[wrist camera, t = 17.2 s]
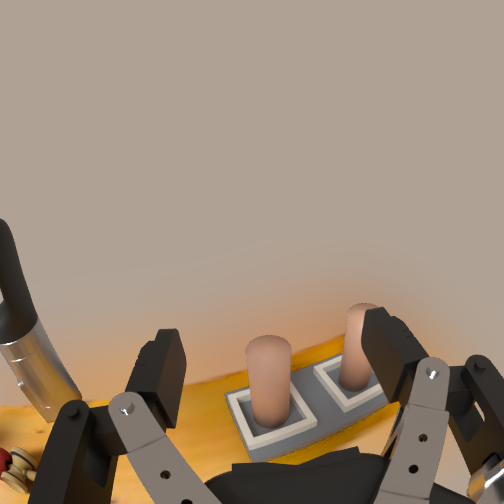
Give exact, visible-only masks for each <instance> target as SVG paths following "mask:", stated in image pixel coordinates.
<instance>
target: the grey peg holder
mask: <svg viewBox="0 0 504 504" xmlns="http://www.w3.org/2000/svg"><path fill="white" fill-rule="evenodd" d="M372 308H378V306H376V305H373V304H367V303H361V304H356V305H354V306H352V307H351V308H350V309H349V310H348V315H347V324H346V331H345V339H344V346H343V352H342V353H340V354H338V355H335V356H333V357H331V358H328V359H326V360H323V361H321V362H318V363H316V364H313V365H310V366H308V367H305V368H302V369H300V370H297V371H294V372H291V375H290V399H289V417H288V419H287V421H286V422H285V423H284V424H283V425H282V426H280V427H277V428H273V429H267V428H263V427H261V426H259V425H258V424H256V423H255V421H254V419H253V413H252V404H251V395H250V386H249V387H245V388H242V389H238V390H235V391H231V392H228V393H224V395H225V399H226V402H227V404H228V407H229V409H230V412H231V414H232V417H233V419H234V422H235V424H236V427H237V429H238V432H239V434H240V436H241V439H242V441H243V443H244V446H245V448H246V450H247V453H248V455H249V457H250V459H251V462H252V463H256V462H266V461H269V460H272V459H275V458H278V457H281V456H283V455H286V454H289V453H291V452H294V451H296V450H299V449H301V448H304V447H306V446H309V445H311V444H313V443H316V442H318V441H320V440H322V439H324V438H327V437H329V436H331V435H333V434H335V433H337V432H339V431H341V430H343V429H345V428H347V427H349V426H351V425H353V424H355V423H357V422H359V421H360V420H362V419H364V418H366V417H368V416H369V415H371V414H373V413H375V412H376V411H378V410H380V409H381V408H383V407H385V406H386V405H388V404H389V402H388V400H387V398H386V396H385V394H384V392H383V390H382V388H381V386H380V384H379V382H378V379H377V377H376V375H375V373H374V371H373V369H372V367H371V366H370V364H369V362H368V360H367V358H366V356H365V354H364V352H363V350H362V346H361V334H362V328H363V322H364V315H365V311H366V310H367V309H372Z"/></svg>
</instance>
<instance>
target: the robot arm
mask: <svg viewBox="0 0 504 504" xmlns="http://www.w3.org/2000/svg"><path fill="white" fill-rule="evenodd" d="M0 289H1V292H2V295H3V299H4V300H3V302H2V303H1V304H0V351H1V353H2V355H3V356H4V358H5V360H6V361H7V363H8V365H9V366H10V368H11V369H12V371H13V372H14V374H15V375H16V377H17V380H18V385H19V387H20V388H21V390H22V391H23V393H24V394H25V395H26V397H27V398H28V399H29V401H30V402H31V403H32V405H33V406H34V407H35V408H36V410H37V411H38V412H39V413H40V415H41V416H42V417H43V418H44V419H45V420H46V422H47V423H49V422H51V421H55V423H54V425H53V428H52V430H51V433H50V435H49V438H48V441H47V443H46V446H45V449H44V452H43V455H42V457H41V460H40V463H39V466H38V469H37V473H36V476H35V479H34V482H33V486H32V489H31V493H30V496H29V500H28V504H110V502H111V495H112V489H113V483H114V477H115V472H116V466H117V461H118V456H119V455H124V454H127V457H128V459H129V461H130V463H131V465H132V467H133V468H134V470H135V472H136V474H137V475H138V477H139V479H140V481H141V482H142V484H143V485H144V487H145V489H146V490H147V492H148V493H149V495H150V497H151V498H152V500H153V501H154V503H155V504H504V379H503V377H502V376H501V375H500V373H499V372H498V370H497V369H496V368H495V366H494V365H493V364H492V363H491V361H490V360H489V359H488V358H486V357H485V356H482V355H472V356H470V357H469V358H468V360H467V361H466V363H465V365H464V366H448V365H447V364H446V363H445V362H444V361H443V360H441V359H439V358H436V357H429V355H428V354H427V353H426V351H425V350H424V348H423V347H422V346H421V344H420V343H419V342H418V340H417V339H416V338H415V337H414V336H413V334H412V332H411V331H409V328H408V327H407V326H406V324H405V323H404V322H403V321H402V320H400V319H398V318H397V317H395V316H390V315H389V313H388V312H387V311H386V310H385V308H384V307H378V308H372V309H367V310H366V311H365V315H364V322H363V328H362V334H361V346H362V350H363V352H364V354H365V356H366V358H367V360H368V362H369V364H370V366H371V367H372V369H373V371H374V373H375V375H376V377H377V379H378V382H379V384H380V386H381V388H382V390H383V392H384V394H385V396H386V398H387V400H388V402H389V404H390V403H394V402H397V401H399V403H400V408H399V410H398V413H397V416H396V419H395V422H394V425H393V427H392V430H391V433H390V436H389V438H388V441H387V443H386V446H385V447H384V449H383V451H382V453H381V455H375V454H370V453H360V452H359V449H358V446H356V447H352V448H348V449H344V450H339V451H335V452H330V453H327V454H324V455H322V456H320V457H317V458H315V459H312V460H310V461H307V462H305V463H302V464H299V465H288V464H277V463H268V462H256V463H236V464H232V471H229V472H226V473H223V474H220V475H218V476H215V477H213V478H211V479H210V480H208V481H207V482H205V483H203V482H202V481H201V479H200V478H199V477H198V476H197V475H196V473H195V472H194V471H193V470H192V468H191V467H190V466H189V465H188V463H187V462H186V461H185V459H184V458H183V457H182V456H181V454H180V453H179V452H178V450H177V449H176V447H175V446H174V445H173V443H172V442H171V441H170V439H169V438H168V436H167V435H166V434H165V433H166V428H172V429H175V427H176V422H177V416H178V410H179V404H180V399H181V393H182V388H183V383H184V377H185V372H186V356H185V352H184V349H183V346H182V342H181V339H180V336H179V332H178V330H177V329H159V330H158V333H157V335H156V338H155V341H148V342H147V343H146V344H145V345H144V346H143V347H142V348H141V350H140V353H139V355H138V359H137V360H136V363H135V366H134V368H133V371H132V373H131V376H130V379H129V381H128V384H127V386H126V389H125V392H123V393H120V394H118V395H116V396H115V397H114V398H113V399H112V400H111V401H110V403H109V405H107V406H101V407H94V408H89V406H88V405H87V404H86V403H85V402H84V401H82V396H81V393H80V391H79V390H78V388H77V386H76V385H75V384H74V382H73V380H72V379H71V377H70V375H69V374H68V372H67V370H66V369H65V367H64V365H63V364H62V362H61V360H60V358H59V357H58V355H57V353H56V351H55V349H54V348H53V345H52V344H51V342H50V340H49V338H48V336H47V334H46V332H45V330H44V328H43V326H42V323H41V321H40V319H39V317H38V315H37V313H36V310H35V308H34V305H33V303H32V299H31V296H30V293H29V290H28V287H27V284H26V281H25V279H24V275H23V272H22V269H21V265H20V261H19V257H18V254H17V250H16V246H15V242H14V239H13V236H12V233H11V231H10V228H9V226H8V225H7V223H6V222H5V221H4V220H2V219H0ZM475 402H477V403H478V405H479V407H480V408H481V410H482V412H483V413H484V417H485V421H483V419H482V417H481V415H480V414H479V412H478V410H477V408H476V407H475V405H474V403H475ZM448 424H449V427H450V429H451V431H452V433H453V435H454V437H455V439H456V442H457V444H458V446H459V448H460V450H461V453H462V455H463V457H464V460H465V462H466V465H467V467H468V470H469V472H470V475H471V478H470V481H469V485H468V489H467V492H466V493H467V496H468V497H469V498H468V497H465V496H463V495H461V494H458V493H456V492H454V491H451V490H449V489H447V488H445V487H443V486H441V485H438V484H436V483H434V479H435V476H436V472H437V469H438V465H439V461H440V457H441V454H442V449H443V445H444V440H445V435H446V431H447V425H448Z"/></svg>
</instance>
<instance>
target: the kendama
mask: <svg viewBox="0 0 504 504" xmlns="http://www.w3.org/2000/svg"><path fill="white" fill-rule="evenodd" d="M10 453H11V455H10ZM10 453H9V452H7V451H6V450H4V449H3V448H0V480H2V481H4V482H5V483H7V484H8V485H9V486H10V487H12V488H13V489H15V490H16V491H18V492H20V493H23V494H26V492H27V490H28V489H27V487H26V484H25V479H26V478H28V479H30V480H32V481H34V479H35V476H36V473H37V472H34V471H33V470H36V468H37V462H36V460H35V459H34V458H33V457H32V456H31V455H30V454H29V453H27V452H26V451H24V450H23V449H21V448H19V447H12V449H11V451H10Z"/></svg>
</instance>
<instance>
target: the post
mask: <svg viewBox="0 0 504 504" xmlns="http://www.w3.org/2000/svg"><path fill="white" fill-rule="evenodd" d="M246 359H247V368H248V378H249V386H250V395H251V404H252V413H253V419H254V421H255V423H256V424H258V425H259V426H261V427H263V428H267V429H273V428H277V427H280V426H282V425H283V424H284V423H285V422H286V421H287V419H288V417H289V399H290V375H291V346H290V344H289V343H288V341H287V340H285V339H284V338H281V337H278V336H272V335H266V336H261V337H258V338H255V339H253V340H252V341H251V342H249V344H248V345H247V347H246Z"/></svg>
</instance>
